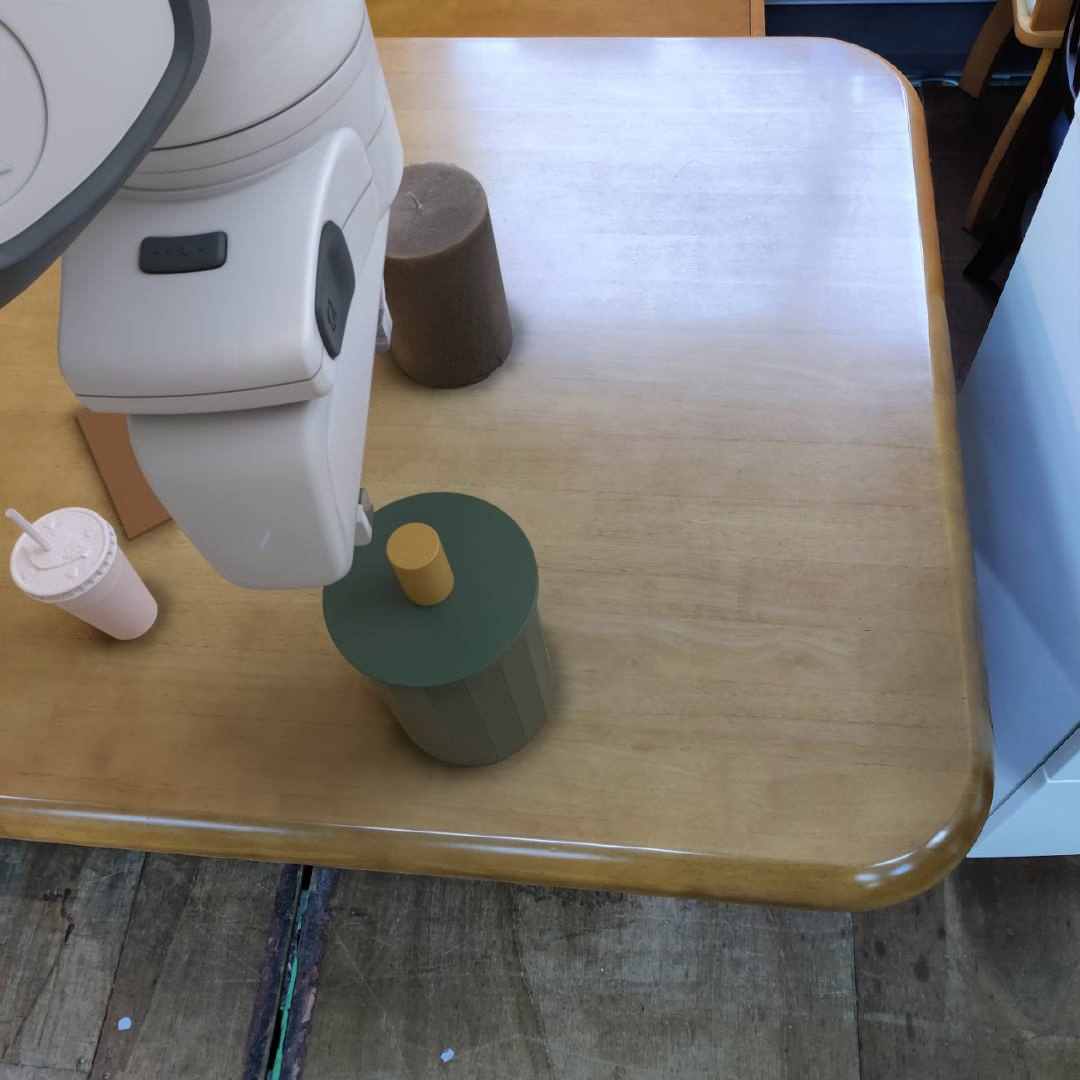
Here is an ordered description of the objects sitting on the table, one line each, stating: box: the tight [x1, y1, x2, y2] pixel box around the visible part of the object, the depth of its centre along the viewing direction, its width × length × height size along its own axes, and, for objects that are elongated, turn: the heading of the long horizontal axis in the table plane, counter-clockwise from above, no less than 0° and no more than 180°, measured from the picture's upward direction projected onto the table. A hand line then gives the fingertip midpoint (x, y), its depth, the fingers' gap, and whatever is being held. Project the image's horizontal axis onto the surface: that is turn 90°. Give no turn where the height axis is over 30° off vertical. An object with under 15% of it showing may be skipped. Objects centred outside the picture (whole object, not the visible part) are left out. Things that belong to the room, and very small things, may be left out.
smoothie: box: [5, 506, 158, 641], centre depth 61 cm, size 6×6×14 cm
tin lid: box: [321, 491, 540, 691], centre depth 47 cm, size 11×11×5 cm
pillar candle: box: [383, 161, 514, 390], centre depth 70 cm, size 10×10×15 cm
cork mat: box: [75, 407, 174, 542], centre depth 75 cm, size 14×14×1 cm
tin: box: [368, 603, 555, 767], centre depth 55 cm, size 10×10×14 cm
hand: (363, 430), depth 39 cm, fingers open, 8 cm apart
